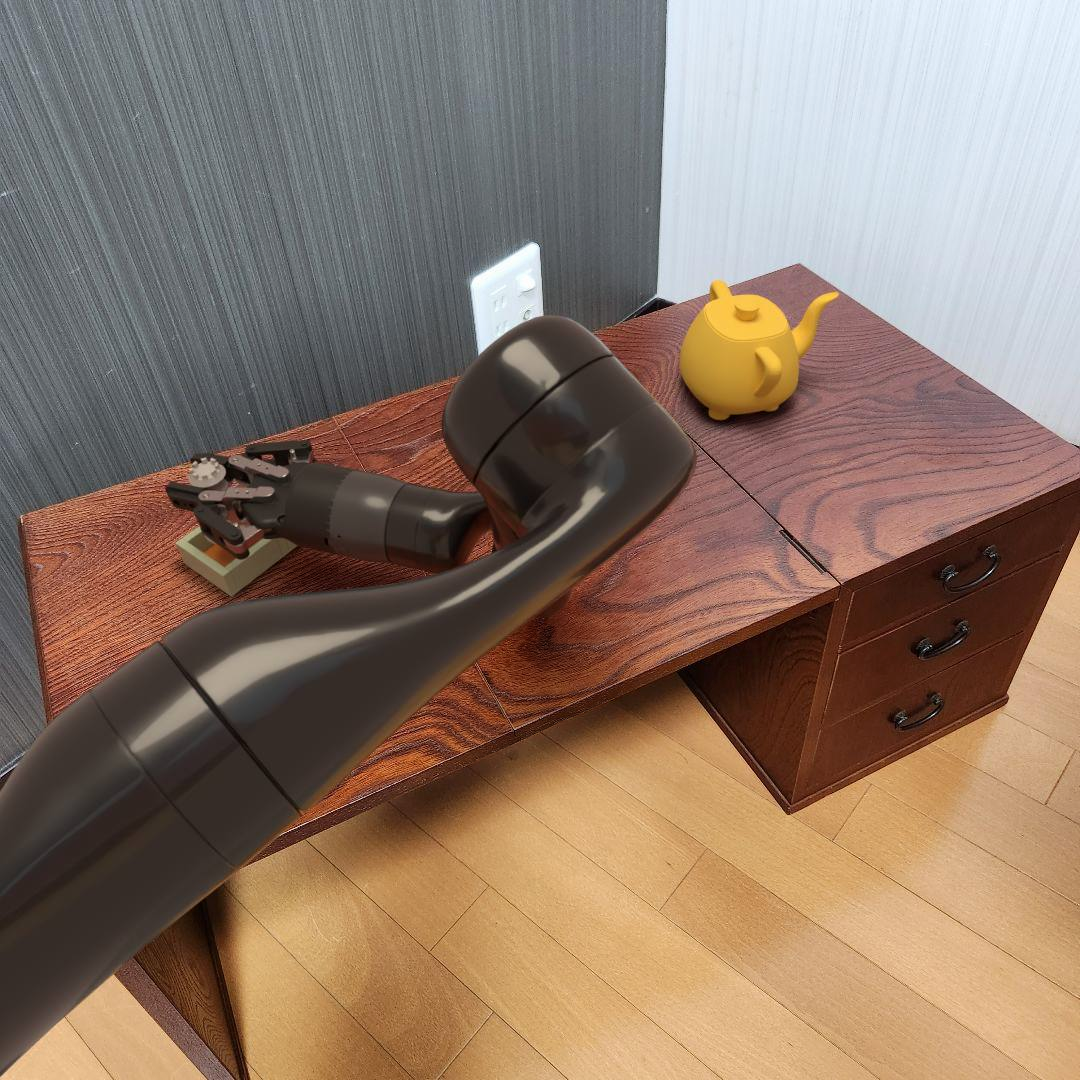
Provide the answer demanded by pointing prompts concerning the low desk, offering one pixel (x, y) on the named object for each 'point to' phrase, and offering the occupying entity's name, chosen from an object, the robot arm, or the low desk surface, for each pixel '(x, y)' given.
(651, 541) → the low desk surface
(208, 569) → the socket pad
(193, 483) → the rook chess piece
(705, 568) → the low desk surface
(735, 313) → the teapot
